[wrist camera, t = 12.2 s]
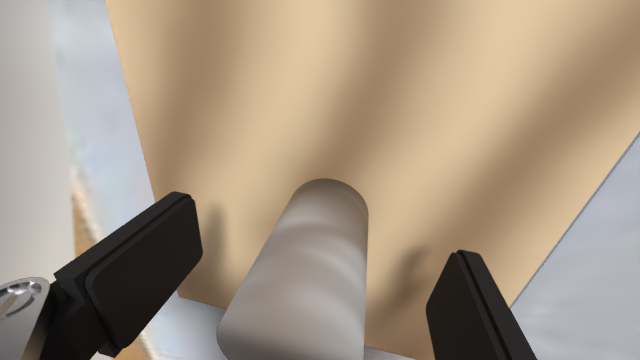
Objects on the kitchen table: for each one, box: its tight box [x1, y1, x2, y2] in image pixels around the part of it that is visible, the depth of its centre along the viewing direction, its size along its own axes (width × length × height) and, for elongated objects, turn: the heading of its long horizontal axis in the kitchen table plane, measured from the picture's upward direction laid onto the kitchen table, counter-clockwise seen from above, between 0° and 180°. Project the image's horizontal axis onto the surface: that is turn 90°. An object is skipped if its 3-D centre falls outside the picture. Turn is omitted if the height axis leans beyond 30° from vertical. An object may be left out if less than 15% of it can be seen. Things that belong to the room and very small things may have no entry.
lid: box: [105, 0, 640, 360], centre depth 9 cm, size 18×18×7 cm
